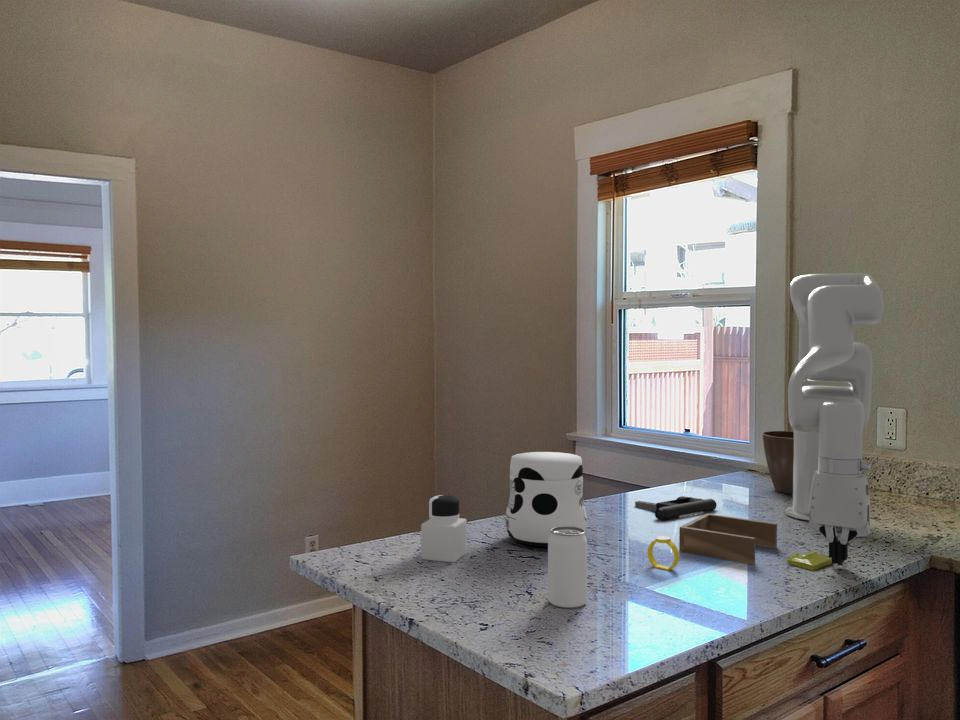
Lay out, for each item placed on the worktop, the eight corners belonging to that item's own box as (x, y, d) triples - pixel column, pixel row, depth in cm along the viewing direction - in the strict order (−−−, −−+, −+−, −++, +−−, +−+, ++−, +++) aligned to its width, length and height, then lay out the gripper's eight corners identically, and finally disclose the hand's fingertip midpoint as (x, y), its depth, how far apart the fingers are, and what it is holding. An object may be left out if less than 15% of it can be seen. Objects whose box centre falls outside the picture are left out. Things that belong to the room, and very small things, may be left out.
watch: (646, 568, 149) (644, 537, 150) (653, 565, 152) (651, 534, 152) (674, 572, 145) (672, 540, 146) (681, 569, 147) (680, 537, 148)
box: (706, 535, 172) (706, 513, 172) (776, 547, 163) (777, 523, 163) (679, 551, 160) (679, 527, 160) (753, 564, 151) (753, 539, 151)
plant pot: (817, 488, 224) (818, 432, 223) (820, 498, 210) (821, 439, 209) (762, 484, 229) (762, 429, 228) (760, 494, 215) (761, 436, 215)
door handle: (618, 501, 197) (666, 509, 184) (673, 492, 208) (722, 499, 195) (618, 514, 197) (666, 523, 184) (673, 504, 208) (722, 512, 195)
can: (544, 596, 133) (545, 526, 132) (582, 595, 134) (582, 525, 133) (551, 609, 127) (551, 536, 126) (590, 608, 127) (591, 535, 127)
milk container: (602, 540, 168) (603, 457, 168) (553, 557, 156) (553, 467, 155) (539, 526, 180) (539, 448, 179) (488, 541, 167) (488, 457, 167)
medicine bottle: (467, 553, 158) (467, 494, 158) (454, 563, 152) (454, 501, 151) (434, 550, 161) (434, 492, 160) (420, 559, 154) (420, 499, 154)
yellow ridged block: (815, 577, 145) (816, 562, 145) (771, 565, 153) (771, 551, 153) (844, 568, 151) (844, 553, 151) (800, 556, 159) (800, 542, 159)
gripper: (887, 467, 147) (885, 565, 147) (803, 459, 155) (801, 551, 156) (879, 473, 141) (877, 575, 141) (793, 465, 149) (791, 560, 150)
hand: (838, 562), depth 149 cm, fingers closed
